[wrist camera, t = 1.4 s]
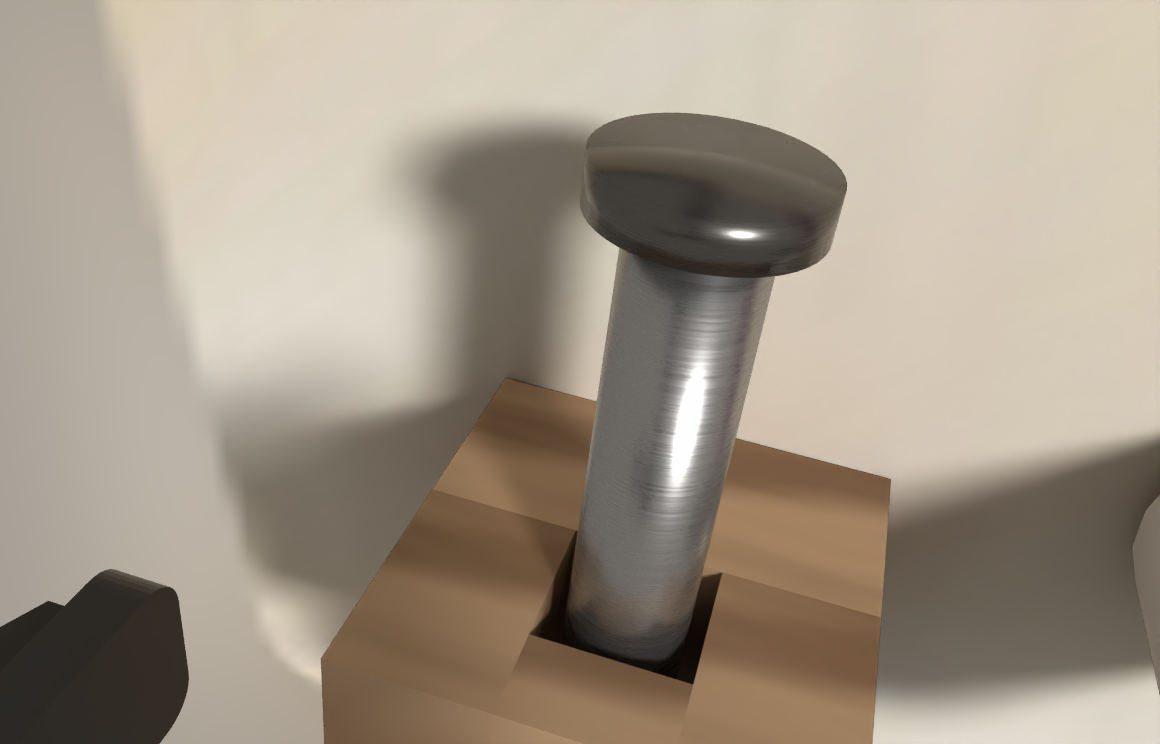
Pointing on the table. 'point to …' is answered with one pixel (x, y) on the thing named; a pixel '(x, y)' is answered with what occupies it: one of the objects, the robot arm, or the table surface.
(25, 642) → the robot arm
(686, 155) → the shaft
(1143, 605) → the can
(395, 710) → the bearing block
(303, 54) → the table surface
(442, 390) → the table surface
